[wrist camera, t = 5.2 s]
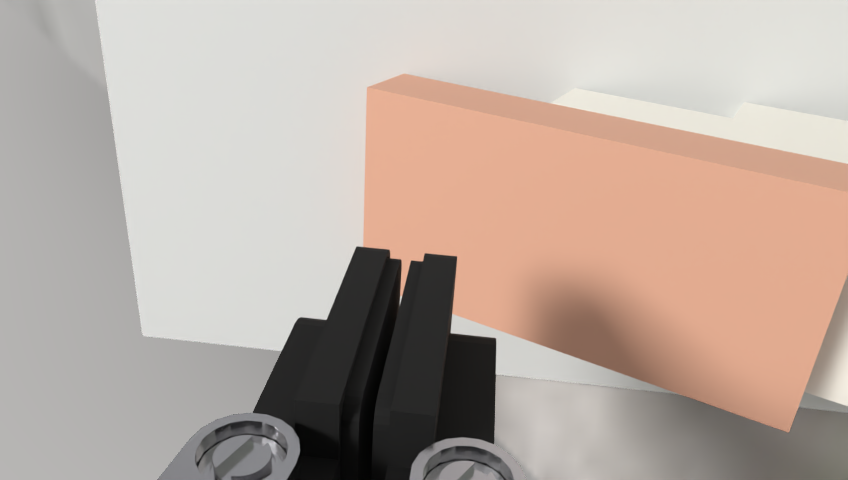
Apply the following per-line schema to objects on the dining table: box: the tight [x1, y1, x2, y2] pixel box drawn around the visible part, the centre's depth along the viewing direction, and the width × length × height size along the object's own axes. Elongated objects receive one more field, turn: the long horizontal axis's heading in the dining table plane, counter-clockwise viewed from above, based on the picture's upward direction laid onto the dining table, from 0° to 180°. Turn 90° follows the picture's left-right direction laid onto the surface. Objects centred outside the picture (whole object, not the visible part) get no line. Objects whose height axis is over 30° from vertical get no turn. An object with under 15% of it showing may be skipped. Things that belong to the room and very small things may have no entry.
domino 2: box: [551, 88, 848, 406], centre depth 16 cm, size 2×5×10 cm
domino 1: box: [363, 74, 848, 433], centre depth 16 cm, size 2×5×10 cm
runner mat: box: [95, 0, 848, 413], centre depth 18 cm, size 34×12×1 cm, turn 86°
